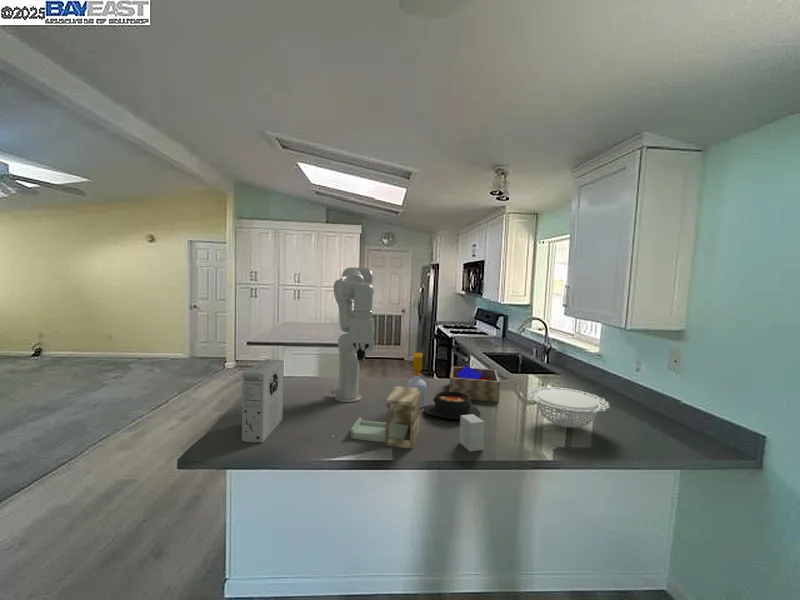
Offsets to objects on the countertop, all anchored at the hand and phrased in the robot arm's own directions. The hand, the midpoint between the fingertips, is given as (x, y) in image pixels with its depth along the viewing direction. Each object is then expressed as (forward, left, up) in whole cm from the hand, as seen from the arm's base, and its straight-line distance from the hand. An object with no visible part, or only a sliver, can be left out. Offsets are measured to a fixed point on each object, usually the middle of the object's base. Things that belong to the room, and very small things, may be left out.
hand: (360, 359), depth 159 cm
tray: (+11, -10, -26) cm, 30 cm away
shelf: (+19, -10, -26) cm, 34 cm away
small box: (+45, -11, -26) cm, 54 cm away
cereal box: (-33, -17, -26) cm, 45 cm away
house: (+47, +55, -26) cm, 77 cm away
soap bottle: (+20, +27, -26) cm, 43 cm away
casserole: (+37, +19, -27) cm, 49 cm away
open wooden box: (+47, +55, -26) cm, 77 cm away
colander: (+84, +17, -26) cm, 90 cm away
